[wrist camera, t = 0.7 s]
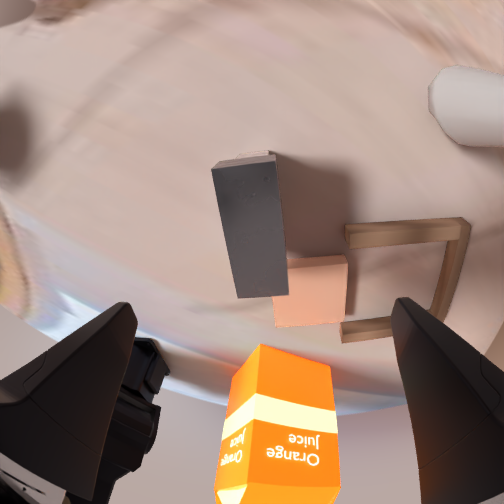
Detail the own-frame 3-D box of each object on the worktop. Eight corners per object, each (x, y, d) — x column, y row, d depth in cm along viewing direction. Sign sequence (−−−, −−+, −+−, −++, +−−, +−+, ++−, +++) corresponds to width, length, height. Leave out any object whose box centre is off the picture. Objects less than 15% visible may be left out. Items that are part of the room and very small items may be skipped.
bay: (339, 331, 25) (342, 343, 23) (345, 224, 19) (350, 234, 18) (436, 316, 23) (441, 326, 22) (461, 217, 18) (471, 225, 16)
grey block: (247, 248, 21) (238, 298, 16) (231, 150, 17) (211, 169, 12) (286, 245, 21) (289, 295, 15) (275, 145, 17) (275, 161, 12)
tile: (276, 313, 25) (275, 327, 23) (269, 258, 22) (268, 270, 20) (340, 308, 24) (343, 321, 22) (343, 251, 21) (347, 263, 19)
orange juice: (294, 396, 31) (290, 540, 14) (231, 377, 30) (204, 536, 13) (331, 365, 27) (343, 539, 10) (260, 342, 26) (239, 545, 9)
